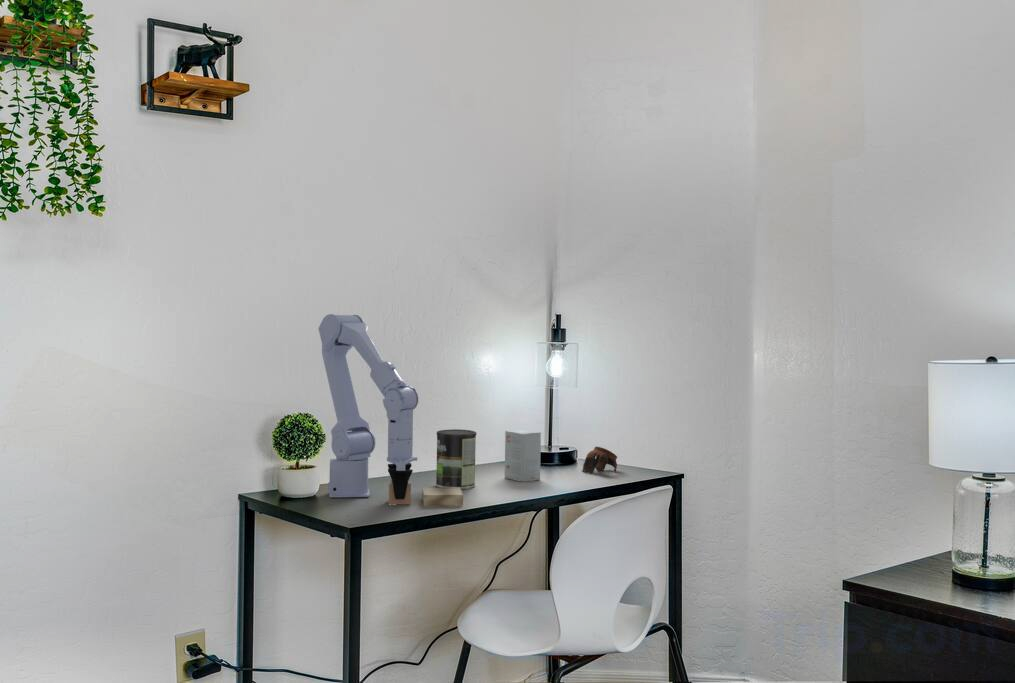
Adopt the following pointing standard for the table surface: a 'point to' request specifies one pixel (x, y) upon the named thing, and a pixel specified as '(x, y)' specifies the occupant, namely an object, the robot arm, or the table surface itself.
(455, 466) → the coffee can
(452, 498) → the oak block
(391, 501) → the terracotta cube
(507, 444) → the small box
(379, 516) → the table surface
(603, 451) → the brown arch
